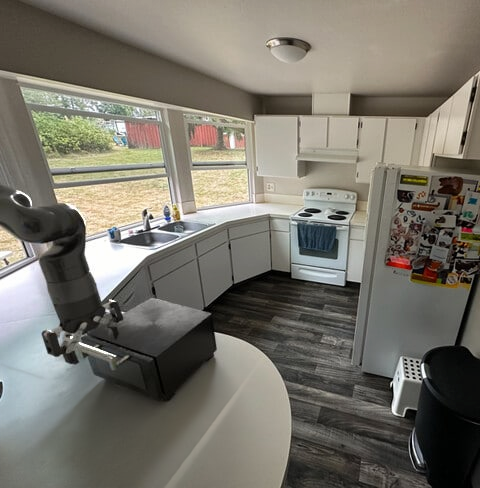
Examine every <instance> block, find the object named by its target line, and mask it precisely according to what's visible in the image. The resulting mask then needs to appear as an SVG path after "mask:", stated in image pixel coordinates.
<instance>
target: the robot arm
mask: <svg viewBox="0 0 480 488" xmlns="http://www.w3.org/2000/svg"><path fill="white" fill-rule="evenodd" d="M0 228H1V229H3V230H4V231H6V232H7V233H8V234H10V235H11V236H12V237H14V238H15V239H17V240H19V241H21V242H24V243H28V244H33V245H35V244H36V245H43V244H49V243H51V246H50V248H48V249H46V250H45V252H43V253H42V254H40V255H39V256H38V258H37V260H38V265H39V267H40V271H41V273H42V275H43V278H44V280H45V283H46V289H47V293H48V295H49V298H50V301H51V303H52V306H53V308H54V311H55V313H56V316H57V318H58V320H59V325H58V326H57V327H54V328H52V329H44V330H43V331H42V332H40V333H41V338H42V340H43V343H44V347H45V349H46V353H47V355H50V356H53V357H54V358H59V357H60V356H62V357H63V359H64V362H65V363H67V364H69V365H74V366H76V365H78V364H80V361H79V358H78V356H77V353H76V351H75V350H76V349H75V345H76V344H78V343H79V341H80V340H81V337H82V336H85V335H87V333H88V332H89V331H90V330H93V329H95V328H97V327H98V325H99V324H100V323H101V324H104V325H107V327H106V330H107V333H108V336H109V338H110V339H112V340H116V339H117V338H118V337H117V336H118V335H119V333H118V330H117V323H118V322H119V321H122V320H123V315H122V314H123V313H122V310H121V307H120V305H119V302H118V301H116V300H112V299H107V300H106V302H105V303H103V302H102V298H101V296H100V293H99V290H98V285H97V282H96V280H95V277H94V275H93V274H92V272H91V270H90V267H89V264H88V263H89V262H88V260H87V257H86V245H87V244H86V243H87V242H86V240H87V225H86V220H85V218H84V216H83V215H82V213H81V211H79V209H77V208H76V207H75V206H74V205H71V204H69V203H64V202H55V203H50V204H45V205H39V206H33V207H32V200H31V198H30V197H29V195H27V194H25V193H24V192H22V191H20V190H18V189H16V188H14V187H11V186H9V185H6V184H3V183H1V182H0ZM105 311H106V312H107V311H109V313H110V314H111V317H112V319H111V320H107V319H104V318H103V316H104V313H105ZM62 332H64V334H63V335H62V337H61V333H62ZM59 338H62V341H61V343H60V342H59Z"/></svg>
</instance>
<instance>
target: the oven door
mask: <svg viewBox="0 0 480 488" xmlns="http://www.w3.org/2000/svg"><path fill="white" fill-rule="evenodd" d="M80 340H81V342H77V343H76V344H75V346H74V350H77V351H78V353H79V355H80V356H79V357H80V358H81V359H86V358H87V360H88V362H89V365H90V367H91V368H90V369H91V370H92V373H93V375H94V376H96V377H98V378H101V379H103V380H106V381H108V382H111V383H113V384H116V385H118V386H121V387H123V388H125V389H128V390H130V391H132V392H136V393H138V394H140V395H143V396H145V397H148V398H150V399H153V400H155V401H157V402H162V400H163V398H164V397H163V393H162V389H161V386H160V382H159V378H158V374H157V370H156V366H155V362H154V359H153V358H150V357H147V356H144V355H141V354H138V353H135V352H133V351H130V350H127V349H124V348H121V347H118V346H115V345H112V344H110V343H107V342H104V341H101V340H98V339H95V338H92V337H90V336H87V334H84V335H82V336H81V337H80Z"/></svg>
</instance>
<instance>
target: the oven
mask: <svg viewBox="0 0 480 488" xmlns="http://www.w3.org/2000/svg"><path fill="white" fill-rule="evenodd" d="M122 315H123V320H122V321H119V322H118V323H117V330H118V333H119V335H118V336H117V337H118V338H117V339H116V340H112V339H110V338H109V336H108V333H107V330H106V327H107V325H104V324H103V325H101V326H99V327H97V328H95V329H94V330H92V331H90V332H88V333H86V335H87V336H90V337H92V338H95V339H98V340H101V341H104V342H107V343H110V344H112V345H115V346H118V347H121V348H124V349H127V350H130V351H133V352H135V353H138V354H141V355H144V356H147V357H150V358H153V359H154V362H155V366H156V370H157V374H158V378H159V382H160V386H161V389H162V393H163V397H164V398H163V399H162V400H163V401H166V402H169V401H170V400H172V398H173V397H174V396H175V395H176V391H177V390H178V389H179V388H180V387H181V386H182V385H183V384H184V383H185V382H186V381H187V380H188V379H189V378H190V377H191V376H192V375H193V374H194V373H195V372H196V371H197V370H199V368H200V367H201V366H202V365H203V364H204V363H206V362H207V361H210V360H212V358H213V357H214V356H215V352H216V351H217V350H218V348H217V340H216V334H215V333H216V331H215V327H214V326H215V325H214V318H213V313H212V312H208V311H204V310H200V309H197V308H193V307H188V306H185V305H182V304H177V303H174V302H169V301H165V300H161V299H159V298H154V297H151V298H148V299H146V300H145V301H144V302H143V301H142V302H141V303H139V304H138V305H136V306H134V307H132V308H131V309H129V310H127V311H125V312H123V313H122Z"/></svg>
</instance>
